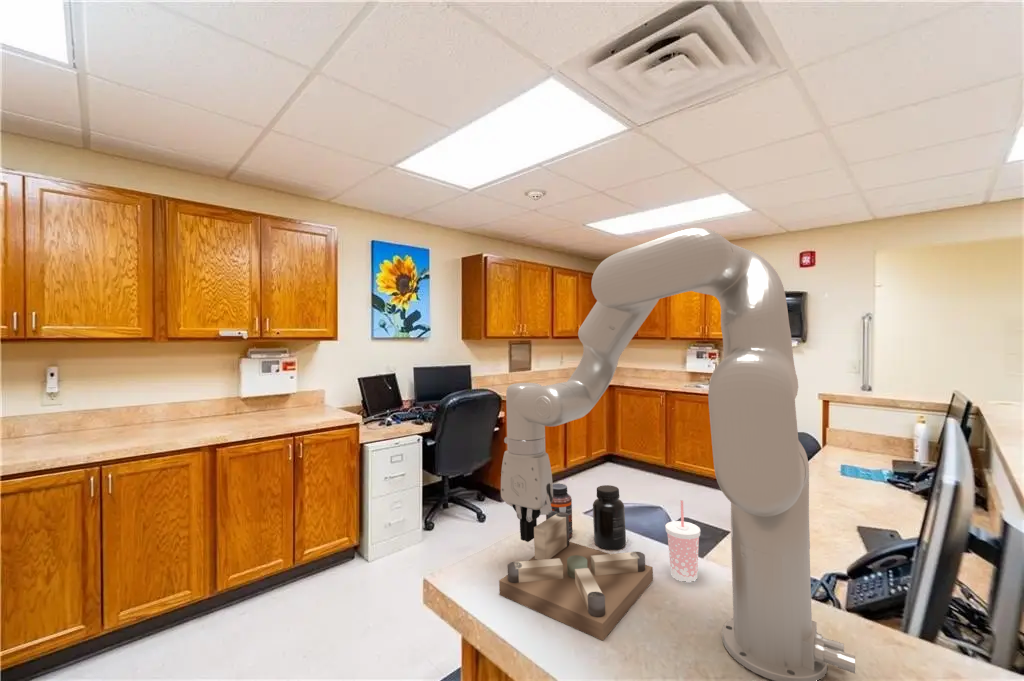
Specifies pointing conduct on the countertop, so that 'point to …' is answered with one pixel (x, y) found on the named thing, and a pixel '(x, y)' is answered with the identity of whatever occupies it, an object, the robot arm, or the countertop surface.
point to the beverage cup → (683, 548)
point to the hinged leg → (551, 536)
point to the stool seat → (580, 586)
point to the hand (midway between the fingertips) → (528, 538)
